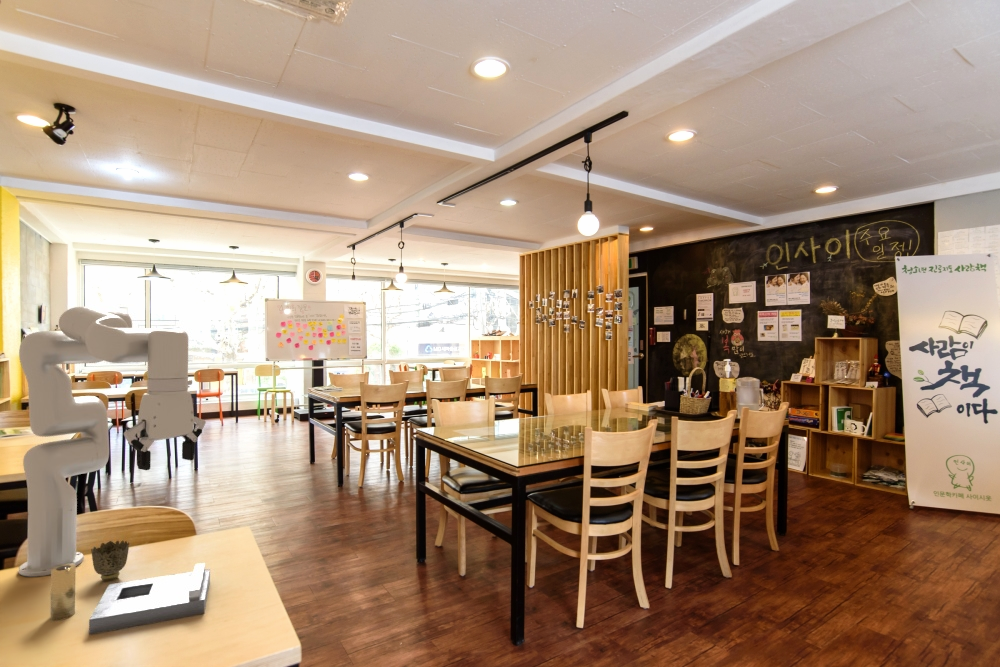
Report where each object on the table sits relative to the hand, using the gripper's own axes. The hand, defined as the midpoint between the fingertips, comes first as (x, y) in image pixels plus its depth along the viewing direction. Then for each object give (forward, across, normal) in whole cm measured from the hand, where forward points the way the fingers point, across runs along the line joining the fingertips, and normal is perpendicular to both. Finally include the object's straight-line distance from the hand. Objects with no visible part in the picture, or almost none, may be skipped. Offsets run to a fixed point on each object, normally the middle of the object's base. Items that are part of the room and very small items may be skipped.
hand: (166, 464), depth 116 cm
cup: (+31, -2, -25) cm, 40 cm away
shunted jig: (+31, +1, -2) cm, 31 cm away
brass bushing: (+31, +12, -16) cm, 37 cm away
